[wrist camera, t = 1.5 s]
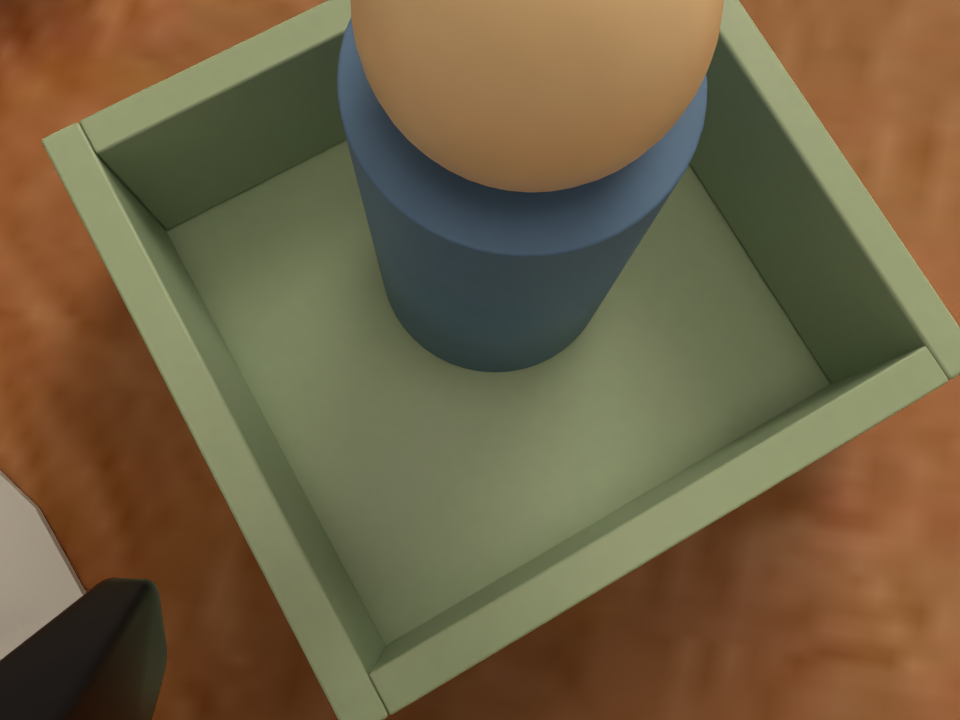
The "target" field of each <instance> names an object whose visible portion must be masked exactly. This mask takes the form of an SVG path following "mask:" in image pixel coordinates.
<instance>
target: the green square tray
mask: <svg viewBox="0 0 960 720" xmlns="http://www.w3.org/2000/svg"><path fill="white" fill-rule="evenodd" d="M350 18H351V0H328V1H326V2H324V3H322V4H320V5H318V6H316V7H314V8H312V9H310V10H307V11H305V12H303V13H301V14H299V15H297V16H295V17H293V18H291V19H289V20H287V21H285V22H283V23H281V24H279V25H277V26H274V27H272V28H270V29H268V30H266V31H264V32H262V33H260V34H258V35H256V36H254V37H252V38H250V39H248V40H246V41H243V42H241V43H239V44H237V45H235V46H233V47H231V48H229V49H227V50H225V51H223V52H221V53H219V54H217V55H215V56H213V57H210V58H208V59H206V60H204V61H202V62H200V63H198V64H196V65H194V66H192V67H190V68H188V69H186V70H184V71H182V72H180V73H177V74H175V75H173V76H171V77H169V78H167V79H165V80H163V81H161V82H159V83H157V84H155V85H153V86H151V87H149V88H146V89H144V90H142V91H140V92H138V93H136V94H134V95H132V96H130V97H128V98H126V99H124V100H122V101H120V102H118V103H116V104H113V105H111V106H109V107H107V108H105V109H103V110H101V111H99V112H97V113H95V114H93V115H91V116H89V117H87V118H85V119H83V120H81V121H80V123H81V125H80V124H79V123H74V124H72V125H70V126H68V127H66V128H64V129H62V130H60V131H58V132H56V133H53V134H51V135H49V136H47V137H45V138H43V139H42V144H43V146H44V148H45V150H46V151H47V153H48V155H49V157H50V159H51V161H52V163H53V165H54V167H55V169H56V171H57V173H58V175H59V177H60V179H61V181H62V183H63V185H64V187H65V188H66V190H67V192H68V194H69V196H70V198H71V200H72V202H73V204H74V206H75V208H76V210H77V212H78V214H79V216H80V218H81V220H82V222H83V224H84V225H85V227H86V229H87V231H88V233H89V235H90V237H91V239H92V241H93V243H94V245H95V247H96V249H97V251H98V253H99V255H100V257H101V259H102V261H103V262H104V264H105V266H106V268H107V270H108V272H109V274H110V276H111V278H112V280H113V282H114V284H115V286H116V288H117V290H118V292H119V294H120V296H121V298H122V299H123V301H124V303H125V305H126V307H127V309H128V311H129V313H130V315H131V317H132V319H133V321H134V323H135V325H136V327H137V329H138V331H139V333H140V335H141V336H142V338H143V340H144V342H145V344H146V346H147V348H148V350H149V352H150V354H151V356H152V358H153V360H154V362H155V364H156V366H157V368H158V370H159V372H160V373H161V375H162V377H163V379H164V381H165V383H166V385H167V387H168V389H169V391H170V393H171V395H172V397H173V399H174V401H175V403H176V405H177V407H178V409H179V410H180V412H181V414H182V416H183V418H184V420H185V422H186V424H187V426H188V428H189V430H190V432H191V434H192V436H193V438H194V440H195V442H196V444H197V446H198V447H199V449H200V451H201V453H202V455H203V457H204V459H205V461H206V463H207V465H208V467H209V469H210V471H211V473H212V475H213V477H214V479H215V481H216V483H217V484H218V486H219V488H220V490H221V492H222V494H223V496H224V498H225V500H226V502H227V504H228V506H229V508H230V510H231V512H232V514H233V516H234V518H235V520H236V521H237V523H238V525H239V527H240V529H241V531H242V533H243V535H244V537H245V539H246V541H247V543H248V545H249V547H250V549H251V551H252V553H253V555H254V557H255V558H256V560H257V562H258V564H259V566H260V568H261V570H262V572H263V574H264V576H265V578H266V580H267V582H268V584H269V586H270V588H271V590H272V592H273V594H274V595H275V597H276V599H277V601H278V603H279V605H280V607H281V609H282V611H283V613H284V615H285V617H286V619H287V621H288V623H289V625H290V627H291V629H292V631H293V632H294V634H295V636H296V638H297V640H298V642H299V644H300V646H301V648H302V650H303V652H304V654H305V656H306V658H307V660H308V662H309V664H310V666H311V668H312V669H313V671H314V673H315V675H316V677H317V679H318V681H319V683H320V685H321V687H322V689H323V691H324V693H325V695H326V697H327V699H328V701H329V703H330V705H331V706H332V708H333V710H334V712H335V714H336V716H337V718H338V720H384V719H386V718H387V717H388V715H389V714H390V715H392V714H394V713H396V712H398V711H399V710H401V709H403V708H404V707H406V706H408V705H409V704H411V703H413V702H414V701H416V700H418V699H419V698H421V697H423V696H424V695H426V694H428V693H429V692H431V691H433V690H434V689H436V688H438V687H439V686H441V685H443V684H444V683H446V682H448V681H449V680H451V679H453V678H454V677H456V676H458V675H459V674H461V673H463V672H464V671H466V670H468V669H469V668H471V667H473V666H474V665H476V664H478V663H480V662H481V661H483V660H485V659H486V658H488V657H490V656H491V655H493V654H495V653H496V652H498V651H500V650H501V649H503V648H505V647H506V646H508V645H510V644H511V643H513V642H515V641H516V640H518V639H520V638H521V637H523V636H525V635H526V634H528V633H530V632H531V631H533V630H535V629H536V628H538V627H540V626H541V625H543V624H545V623H546V622H548V621H550V620H551V619H553V618H555V617H556V616H558V615H560V614H561V613H563V612H565V611H566V610H568V609H570V608H571V607H573V606H575V605H576V604H578V603H580V602H581V601H583V600H585V599H586V598H588V597H590V596H591V595H593V594H595V593H596V592H598V591H600V590H601V589H603V588H605V587H606V586H608V585H610V584H611V583H613V582H615V581H616V580H618V579H620V578H621V577H623V576H625V575H626V574H628V573H630V572H631V571H633V570H635V569H636V568H638V567H640V566H641V565H643V564H645V563H646V562H648V561H650V560H651V559H653V558H655V557H656V556H658V555H660V554H661V553H663V552H665V551H666V550H668V549H670V548H671V547H673V546H675V545H676V544H678V543H680V542H681V541H683V540H685V539H687V538H688V537H690V536H692V535H693V534H695V533H697V532H698V531H700V530H702V529H703V528H705V527H707V526H708V525H710V524H712V523H713V522H715V521H717V520H718V519H720V518H722V517H723V516H725V515H727V514H728V513H730V512H732V511H733V510H735V509H737V508H738V507H740V506H742V505H743V504H745V503H747V502H748V501H750V500H752V499H753V498H755V497H757V496H758V495H760V494H762V493H763V492H765V491H767V490H768V489H770V488H772V487H773V486H775V485H777V484H778V483H780V482H782V481H783V480H785V479H787V478H788V477H790V476H792V475H793V474H795V473H797V472H798V471H800V470H802V469H803V468H805V467H807V466H808V465H810V464H812V463H813V462H815V461H817V460H818V459H820V458H822V457H823V456H825V455H827V454H828V453H830V452H832V451H833V450H835V449H837V448H838V447H840V446H842V445H843V444H845V443H847V442H848V441H850V440H852V439H853V438H855V437H857V436H858V435H860V434H862V433H863V432H865V431H867V430H868V429H870V428H872V427H873V426H875V425H877V424H878V423H880V422H882V421H883V420H885V419H887V418H888V417H890V416H892V415H893V414H895V413H897V412H899V411H900V410H902V409H904V408H905V407H907V406H909V405H910V404H912V403H914V402H915V401H917V400H919V399H920V398H922V397H924V396H925V395H927V394H929V393H930V392H932V391H934V390H935V389H937V388H939V387H940V386H942V385H944V384H945V383H947V381H948V380H951V379H953V378H955V377H956V376H958V375H960V327H959V326H958V324H957V323H956V321H955V320H954V318H953V317H952V315H951V314H950V312H949V311H948V309H947V308H946V307H945V305H944V304H943V302H942V301H941V299H940V298H939V296H938V295H937V293H936V292H935V290H934V289H933V287H932V286H931V284H930V283H929V281H928V280H927V278H926V277H925V275H924V274H923V272H922V271H921V270H920V268H919V267H918V265H917V264H916V262H915V261H914V259H913V258H912V256H911V255H910V253H909V252H908V250H907V249H906V247H905V246H904V244H903V243H902V241H901V240H900V238H899V237H898V235H897V234H896V233H895V231H894V230H893V228H892V227H891V225H890V224H889V222H888V221H887V219H886V218H885V216H884V215H883V213H882V212H881V210H880V209H879V207H878V206H877V204H876V203H875V201H874V200H873V198H872V197H871V196H870V194H869V193H868V191H867V190H866V188H865V187H864V185H863V184H862V182H861V181H860V179H859V178H858V176H857V175H856V173H855V172H854V170H853V169H852V167H851V166H850V164H849V163H848V161H847V160H846V158H845V157H844V156H843V154H842V153H841V151H840V150H839V148H838V147H837V145H836V144H835V142H834V141H833V139H832V138H831V136H830V135H829V133H828V132H827V130H826V129H825V127H824V126H823V124H822V123H821V121H820V120H819V119H818V117H817V116H816V114H815V113H814V111H813V110H812V108H811V107H810V105H809V104H808V102H807V101H806V99H805V98H804V96H803V95H802V93H801V92H800V90H799V89H798V87H797V86H796V84H795V83H794V82H793V80H792V79H791V77H790V76H789V74H788V73H787V71H786V70H785V68H784V67H783V65H782V64H781V62H780V61H779V59H778V58H777V56H776V55H775V53H774V52H773V50H772V49H771V47H770V46H769V45H768V43H767V42H766V40H765V39H764V37H763V36H762V34H761V33H760V31H759V30H758V28H757V27H756V25H755V24H754V22H753V21H752V19H751V18H750V16H749V15H748V13H747V12H746V10H745V9H744V7H743V6H742V5H741V3H740V2H739V0H724V6H723V12H722V18H721V24H720V30H719V36H718V41H717V45H716V48H715V51H714V54H713V57H712V60H711V63H710V65H709V68H708V70H707V73H706V76H707V108H706V114H705V120H704V125H703V130H702V133H701V136H700V139H699V142H698V145H697V148H696V151H695V153H694V155H693V157H692V159H691V161H690V163H689V165H688V167H687V169H686V171H685V173H684V174H683V176H682V177H681V179H680V180H679V182H678V184H677V185H676V187H675V188H674V190H673V191H672V193H671V195H670V196H669V198H668V199H667V201H666V202H665V204H664V205H663V207H662V209H661V210H660V212H659V213H658V215H657V216H656V218H655V220H654V221H653V223H652V224H651V226H650V227H649V229H648V231H647V232H646V234H645V235H644V237H643V238H642V240H641V242H640V243H639V245H638V246H637V248H636V249H635V251H634V253H633V254H632V256H631V257H630V259H629V260H628V262H627V263H626V265H625V267H624V268H623V270H622V271H621V273H620V274H619V276H618V278H617V279H616V281H615V282H614V284H613V285H612V287H611V289H610V290H609V292H608V293H607V295H606V296H605V298H604V300H603V301H602V303H601V304H600V306H599V307H598V309H597V311H596V312H595V314H594V315H593V317H592V318H591V320H590V321H589V323H588V324H587V326H586V327H585V329H584V330H583V331H582V332H581V334H580V335H579V336H578V337H577V338H576V339H575V340H574V341H573V342H572V343H571V344H570V345H568V346H567V347H566V348H565V349H564V350H562V351H561V352H559V353H558V354H556V355H555V356H553V357H552V358H550V359H548V360H546V361H544V362H541V363H539V364H537V365H534V366H531V367H528V368H525V369H520V370H515V371H509V372H482V371H475V370H471V369H466V368H462V367H459V366H456V365H454V364H451V363H448V362H446V361H444V360H442V359H440V358H438V357H436V356H435V355H434V354H432V353H431V352H429V351H428V350H426V349H425V348H423V347H422V346H421V345H420V344H419V343H418V342H417V341H415V340H414V339H413V338H412V337H411V335H410V334H409V333H408V332H407V331H406V330H405V328H404V327H403V326H402V324H401V323H400V321H399V320H398V318H397V317H396V315H395V313H394V311H393V309H392V307H391V305H390V303H389V300H388V297H387V294H386V290H385V287H384V283H383V279H382V275H381V271H380V268H379V264H378V260H377V256H376V252H375V248H374V244H373V240H372V237H371V233H370V229H369V225H368V221H367V217H366V213H365V209H364V205H363V202H362V198H361V194H360V190H359V186H358V182H357V178H356V174H355V171H354V167H353V163H352V159H351V155H350V151H349V147H348V143H347V140H346V136H345V132H344V128H343V124H342V120H341V114H340V109H339V103H338V94H337V70H338V61H339V53H340V49H341V45H342V41H343V37H344V33H345V30H346V28H347V25H348V23H349V21H350Z"/></svg>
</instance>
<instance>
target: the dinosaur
mask: <svg viewBox="0 0 960 720" xmlns="http://www.w3.org/2000/svg"><path fill="white" fill-rule="evenodd" d="M85 593H86V591H85V589H84V587H83V586H82V584H81V582H80V580H79V578H78V577H77V575H76V573H75V571H74V569H73V568H72V566H71V564H70V562H69V560H68V559H67V557H66V555H65V553H64V551H63V549H62V548H61V546H60V544H59V542H58V540H57V539H56V537H55V535H54V533H53V531H52V530H51V528H50V526H49V524H48V522H47V520H46V519H45V517H44V515H43V513H42V511H41V510H40V508H39V507H38V506H37V505H36V504H35V503H34V502H33V501H32V500H31V499H30V498H29V497H28V496H27V495H26V494H24V493H23V492H22V491H21V490H20V489H19V488H18V487H17V486H16V485H15V484H14V483H13V482H12V481H11V480H10V479H9V478H8V477H7V476H6V475H5V474H4V473H3V472H2V471H1V470H0V660H1V659H2V658H4V657H5V656H6V655H7V654H9V653H10V652H11V651H12V650H14V649H15V648H16V647H18V646H19V645H20V644H21V643H23V642H24V641H25V640H27V639H28V638H29V637H30V636H32V635H33V634H34V633H36V632H37V631H38V630H39V629H41V628H42V627H43V626H44V625H46V624H47V623H48V622H50V621H51V620H52V619H53V618H55V617H56V616H57V615H59V614H60V613H61V612H62V611H64V610H65V609H66V608H67V607H69V606H70V605H71V604H73V603H74V602H75V601H76V600H78V599H79V598H80V597H82V596H83V595H84V594H85Z"/></svg>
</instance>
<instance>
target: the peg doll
mask: <svg viewBox="0 0 960 720" xmlns="http://www.w3.org/2000/svg"><path fill="white" fill-rule="evenodd" d="M723 6H724V0H351V18H350V21H349V23H348V25H347V28H346V30H345V33H344V37H343V41H342V45H341V49H340V53H339V61H338V70H337V94H338V103H339V109H340V114H341V120H342V124H343V128H344V132H345V136H346V140H347V143H348V147H349V151H350V155H351V159H352V163H353V167H354V171H355V174H356V178H357V182H358V186H359V190H360V194H361V198H362V202H363V205H364V209H365V213H366V217H367V221H368V225H369V229H370V233H371V237H372V240H373V244H374V248H375V252H376V256H377V260H378V264H379V268H380V271H381V275H382V279H383V283H384V287H385V290H386V294H387V297H388V300H389V303H390V305H391V307H392V309H393V311H394V313H395V315H396V317H397V318H398V320H399V321H400V323H401V324H402V326H403V327H404V328H405V330H406V331H407V332H408V333H409V334H410V335H411V337H412V338H413V339H414V340H415V341H417V342H418V343H419V344H420V345H421V346H422V347H423V348H425V349H426V350H428V351H429V352H431V353H432V354H434V355H435V356H436V357H438V358H440V359H442V360H444V361H446V362H448V363H451V364H454V365H456V366H459V367H462V368H466V369H471V370H475V371H482V372H509V371H515V370H520V369H525V368H528V367H531V366H534V365H537V364H539V363H541V362H544V361H546V360H548V359H550V358H552V357H553V356H555V355H556V354H558V353H559V352H561V351H562V350H564V349H565V348H566V347H567V346H568V345H570V344H571V343H572V342H573V341H574V340H575V339H576V338H577V337H578V336H579V335H580V334H581V332H582V331H583V330H584V329H585V327H586V326H587V324H588V323H589V321H590V320H591V318H592V317H593V315H594V314H595V312H596V311H597V309H598V307H599V306H600V304H601V303H602V301H603V300H604V298H605V296H606V295H607V293H608V292H609V290H610V289H611V287H612V285H613V284H614V282H615V281H616V279H617V278H618V276H619V274H620V273H621V271H622V270H623V268H624V267H625V265H626V263H627V262H628V260H629V259H630V257H631V256H632V254H633V253H634V251H635V249H636V248H637V246H638V245H639V243H640V242H641V240H642V238H643V237H644V235H645V234H646V232H647V231H648V229H649V227H650V226H651V224H652V223H653V221H654V220H655V218H656V216H657V215H658V213H659V212H660V210H661V209H662V207H663V205H664V204H665V202H666V201H667V199H668V198H669V196H670V195H671V193H672V191H673V190H674V188H675V187H676V185H677V184H678V182H679V180H680V179H681V177H682V176H683V174H684V173H685V171H686V169H687V167H688V165H689V163H690V161H691V159H692V157H693V155H694V153H695V151H696V148H697V145H698V142H699V139H700V136H701V133H702V130H703V125H704V120H705V114H706V108H707V76H706V73H707V70H708V68H709V65H710V63H711V60H712V57H713V54H714V51H715V48H716V45H717V41H718V36H719V30H720V24H721V18H722V12H723Z"/></svg>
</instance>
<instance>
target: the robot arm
mask: <svg viewBox="0 0 960 720" xmlns="http://www.w3.org/2000/svg"><path fill="white" fill-rule="evenodd" d="M166 657H167V647H166V639H165V632H164V625H163V618H162V611H161V604H160V597H159V592H158V589H157V587H156V585H155V583H153V582H152V581H150V580H147V579H131V578H108V579H105V580H103V581H101V582H100V583H98V584H97V585H96V586H94V587H93V588H92V589H90V590H89V591H88V592H87V593H85V594H84V595H83V596H82V597H80V598H79V599H78V600H76V601H75V602H74V603H73V604H71V605H70V606H69V607H67V608H66V609H65V610H64V611H62V612H61V613H60V614H59V615H57V616H56V617H55V618H53V619H52V620H51V621H50V622H48V623H47V624H46V625H44V626H43V627H42V628H41V629H39V630H38V631H37V632H36V633H34V634H33V635H32V636H30V637H29V638H28V639H27V640H25V641H24V642H23V643H21V644H20V645H19V646H18V647H16V648H15V649H14V650H12V651H11V652H10V653H9V654H7V655H6V656H5V657H4V658H2V659H1V660H0V720H152V717H153V714H154V710H155V706H156V702H157V699H158V695H159V691H160V687H161V684H162V680H163V676H164V672H165V666H166Z"/></svg>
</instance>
